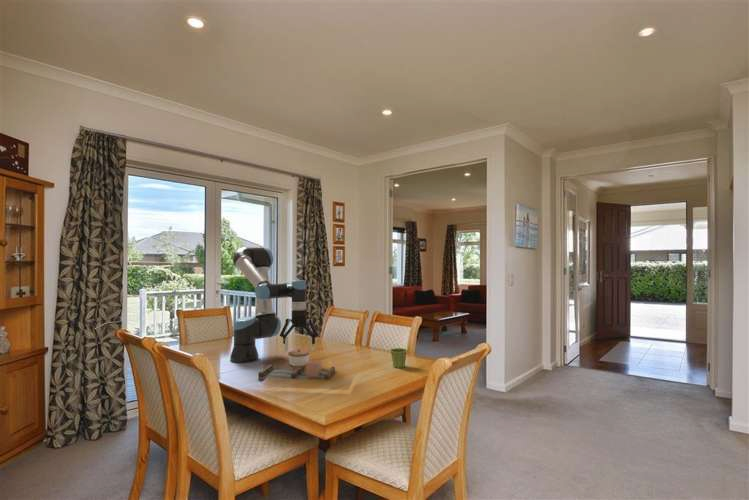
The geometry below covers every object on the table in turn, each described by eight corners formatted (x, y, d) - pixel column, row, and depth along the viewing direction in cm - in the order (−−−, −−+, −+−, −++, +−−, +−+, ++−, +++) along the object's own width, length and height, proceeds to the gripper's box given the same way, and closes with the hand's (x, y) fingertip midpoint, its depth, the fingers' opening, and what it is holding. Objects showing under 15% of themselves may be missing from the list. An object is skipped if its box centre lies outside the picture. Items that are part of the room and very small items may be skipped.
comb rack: (270, 371, 206) (270, 364, 206) (334, 373, 202) (334, 366, 202) (258, 380, 191) (258, 372, 191) (327, 383, 187) (327, 375, 188)
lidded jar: (304, 370, 209) (304, 351, 209) (284, 369, 211) (284, 350, 211) (311, 365, 219) (312, 347, 220) (293, 364, 222) (293, 346, 222)
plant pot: (392, 369, 211) (392, 352, 211) (388, 364, 220) (388, 348, 220) (409, 368, 213) (409, 351, 213) (404, 364, 222) (404, 347, 222)
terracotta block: (309, 372, 199) (309, 360, 199) (321, 372, 199) (321, 360, 199) (305, 376, 193) (305, 363, 193) (318, 376, 193) (318, 363, 193)
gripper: (273, 310, 214) (273, 351, 213) (320, 310, 211) (320, 352, 210) (278, 308, 221) (278, 348, 220) (323, 308, 218) (324, 349, 217)
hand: (299, 350), depth 215 cm, fingers open, 13 cm apart
